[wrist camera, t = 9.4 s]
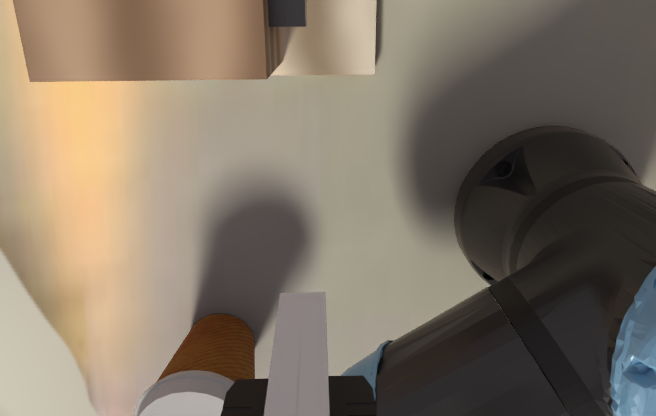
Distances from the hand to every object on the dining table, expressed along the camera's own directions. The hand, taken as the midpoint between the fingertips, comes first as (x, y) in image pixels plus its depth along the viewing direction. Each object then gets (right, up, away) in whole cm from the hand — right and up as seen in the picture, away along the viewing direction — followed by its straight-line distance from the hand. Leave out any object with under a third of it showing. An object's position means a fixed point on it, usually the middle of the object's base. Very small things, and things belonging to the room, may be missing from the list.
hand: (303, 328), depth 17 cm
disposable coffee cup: (-9, -9, +31) cm, 34 cm away
